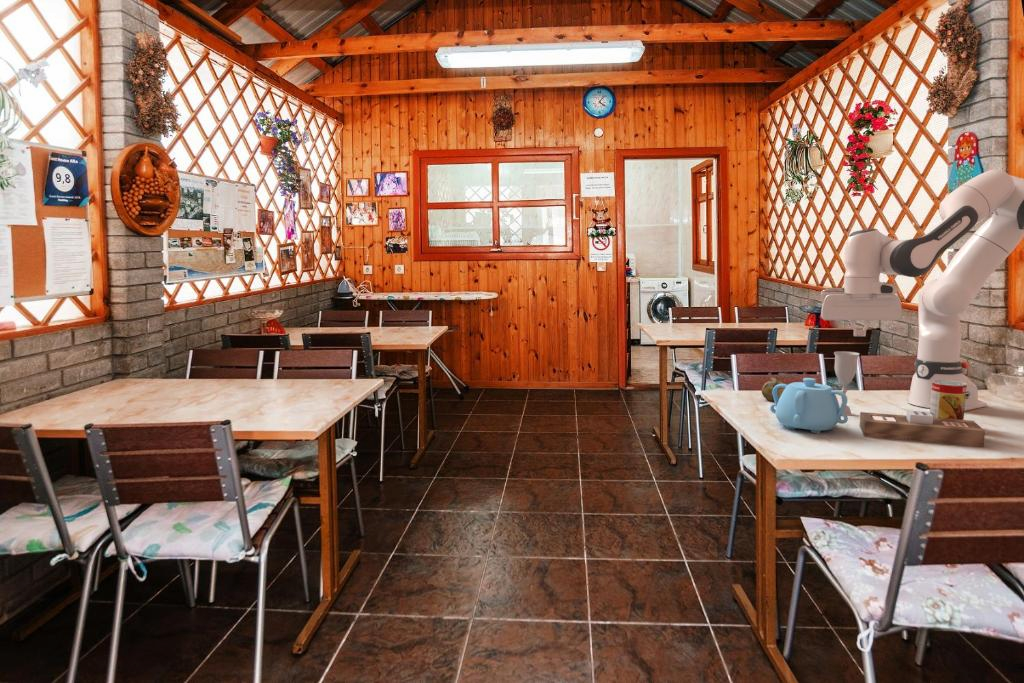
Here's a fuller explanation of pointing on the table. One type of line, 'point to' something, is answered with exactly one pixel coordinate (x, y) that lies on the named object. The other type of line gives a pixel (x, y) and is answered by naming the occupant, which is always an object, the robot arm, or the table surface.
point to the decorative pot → (809, 406)
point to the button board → (922, 430)
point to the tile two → (919, 417)
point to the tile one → (883, 418)
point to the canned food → (948, 399)
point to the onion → (769, 387)
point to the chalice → (845, 371)
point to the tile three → (954, 424)
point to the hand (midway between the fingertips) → (859, 336)
